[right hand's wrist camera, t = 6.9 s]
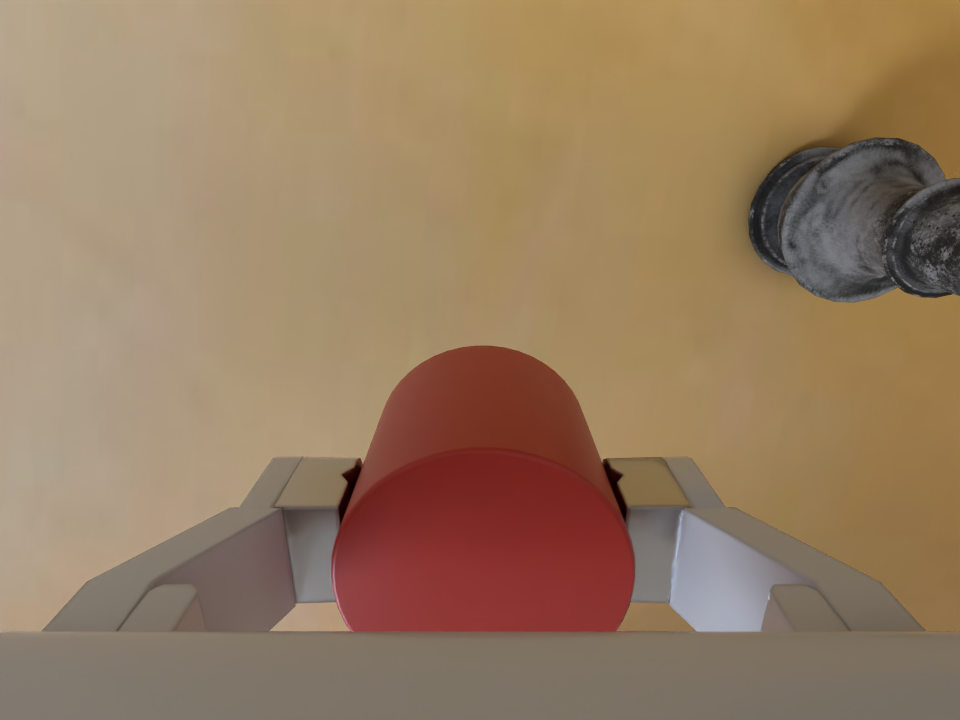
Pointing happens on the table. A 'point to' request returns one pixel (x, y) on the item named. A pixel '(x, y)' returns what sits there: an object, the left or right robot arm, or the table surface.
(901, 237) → the dark grey tapered piece
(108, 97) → the table surface
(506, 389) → the can
